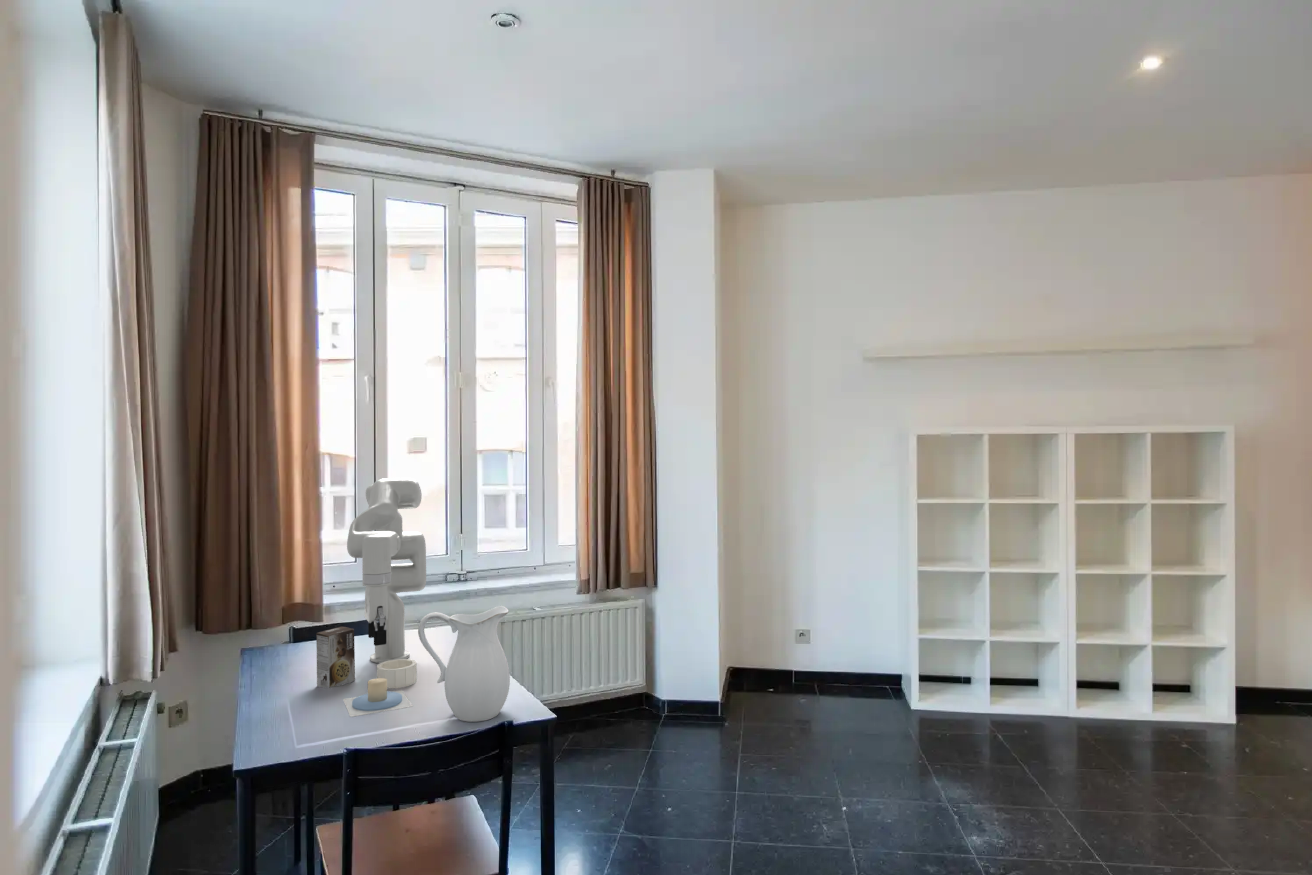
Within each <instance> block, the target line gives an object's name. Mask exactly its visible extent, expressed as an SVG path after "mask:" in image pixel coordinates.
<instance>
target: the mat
mask: <svg viewBox="0 0 1312 875" xmlns="http://www.w3.org/2000/svg"><path fill="white" fill-rule="evenodd" d="M390 692H397V693H400V694H401V695H402V702H401V703H400V704H398V705H396V706H394V707H391V708H387V709H383V710H375V711H362V710H357V709H354V708H353V707H352V701H353V700H354V699H355V698H357V697H358V696H354V697H349V698H348V697H347V698H343V699H342V700H343V702H344V705H345V706H346V707H345V708H346V710H347V712H348V715H349V717H350V718H354V717H359V716H365V715H371V714H377V713H382V712H383V713H384V712H389V711H394V710H400V709H407V708H411V707H414V706H413V704H412V703H411V701H410V699H409V698H408V697H407V695H406V693H405V692H404V691H403V689H399V690H393V691H390Z"/></svg>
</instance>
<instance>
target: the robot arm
mask: <svg viewBox="0 0 1312 875" xmlns="http://www.w3.org/2000/svg"><path fill="white" fill-rule="evenodd" d="M365 499H366V502H367V504H368V508H367V509H366V510H364V511H363V512H361V513H360V514H358V515H357V516H356V517H355V518H354V519H353V520H352V522H351V524H350V526H349V530H348V534H347V535H348V536H347V541H346V550H347V554H348V555H349V556H350V557H352V558H354V559H362V560H361V562H362V564H361V565H362V567H361V568H362V586H363V587H365V593H364V615H363V616H364V618H365V620H366V621H367V622H368V623H367V624H368V625H367V626H368V629H367V630H368V632H367V634H368V635H367V636H368V639H369V638H370V639H372V638H373V646H374V653H372V654H371V655H370V656H369V660H370V661H371V662H372V663H375V664H380V663H382V662H385V661H389V660H396V659H409V658H410V652H409V651H407V650H405V648H406V646H405V645H406V644H405V643H406V641H405V638H406V636H405V633H406V632H405V629H406V627H405V626H406V625H405V624H406V623H405V620H406V619H405V614H406V612H405V604H404V601H403V600H402V599H401V598H400V596H399V595H398V593H410V592H420V591H422V590H424V589H425V587H426V584H427V545H426V539H425V536H424V534H423V533H422V532H420V531H404V530H403V516H402V515H401V513H400V512H399V510H407V509H410V510H411V509H417V508H419V507H420V504H421V503H422V489H421V486H420V483H419V482H418V481H417V480H416V479H415V478H411V477H401V478H400V477H395V478H394V477H393V478H391V477H390V478H389V477H388V478H380V479H378V480H375V481H374V482H373V484H371V485H369V486H367V487H366V490H365ZM394 561H395V562H397V561H411V562H412V563H410V562H409V563H392V562H394Z"/></svg>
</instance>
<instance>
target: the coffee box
mask: <svg viewBox="0 0 1312 875" xmlns="http://www.w3.org/2000/svg"><path fill="white" fill-rule="evenodd" d="M315 634H316V637H315V638H316V686H317V687H319V688H323V689H326V688H334V687H339V686H344V685H346V684H350V683H353V682H355V681H356V661H355V660H356V659H355V658H356V657H355V656H356V655H355V653H356V652H355V628H350V627H348V626H347V627H346V626H338V627H334V628H331V629H327V630H323V631H319V632H316V633H315Z"/></svg>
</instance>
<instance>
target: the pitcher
mask: <svg viewBox="0 0 1312 875" xmlns="http://www.w3.org/2000/svg"><path fill="white" fill-rule="evenodd" d="M508 614H509V609H508V608H507V607H506V606H504V605H497V606H495V607H492V608H490V609H488V610H486V611H482V612H479V613H475V614H471V613H470V614H469V613H468V614H467V613H457V614H453V615H451V616H449V615H447V614H445V613H442V612H430V613H428V614H426V615H425V616H423V617H422V618H421V620H420V622H419V624H418V628H417V630H418V631H417V633H418V638H419V641H420V642H421V644H422V646H423V647H424V649H425V650H426V651H427V652H428V653H429V655H430V656H431V657H432V659H433V660H434V661H435V662H436V665H437V666H438V667H439V671H440V675H439V678H438V680H437V682H436V683H437V684H440V683H443V682H444V693H445V699H446V702H447V705H448V706H449V709H450V710H451V712H452V714H453V715H454V717H455V718H456V719H458V720H460V721H462V722H472V723H474V722H476V723H478V722H484V721H487V720H488V721H489V720H492V719H494V718H495V717H497V716H498V715H499V714H500V712H501V710H502V709H503V708H504V705H505V703H506V701H507V698H508V695H509V692H510V691H509V690H510V685H511V683H510V681H511V674H510V668H509V663H508V659H507V657H506V653H505V651H504V649H503V646H502V644H501V641H500V639H499V636H498V625H499V623H500V622H501V621H502V619H503V618H504V617H505V616H507V615H508ZM436 619H437V620H441V621H443V622H445V623H446V624H447V625H449V626H450V628H451V632H452V633H453V634H456V632H457V637H456V641H455V643H454V646H453V648H452V651H451V653H450V656H449V658H448V662H447V665H446V664H445V663H444V661H443V660H442V659H441V658H440V657H439V654H438V653H436V652H435V650H434V649H433V647H432V646H431V644H430V643H429V642H428V639H427V637H426V634H425V627H426V625H427V623H428V622H429V621H431V620H436Z"/></svg>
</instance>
